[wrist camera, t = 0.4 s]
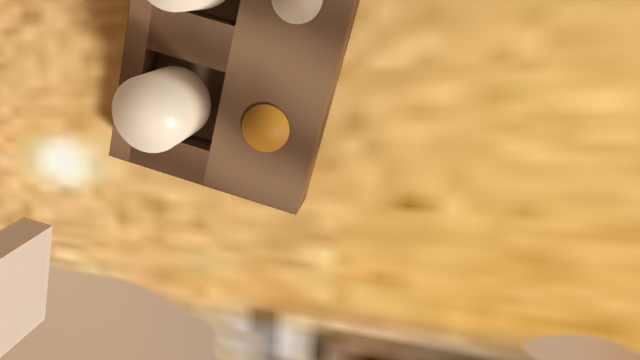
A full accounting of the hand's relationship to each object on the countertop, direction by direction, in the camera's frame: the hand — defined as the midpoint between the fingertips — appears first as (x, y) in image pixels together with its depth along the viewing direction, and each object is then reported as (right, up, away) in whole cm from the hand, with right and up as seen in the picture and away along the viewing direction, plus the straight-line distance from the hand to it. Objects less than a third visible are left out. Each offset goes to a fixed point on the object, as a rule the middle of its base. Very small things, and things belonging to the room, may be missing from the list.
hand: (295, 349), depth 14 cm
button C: (-8, +9, +22) cm, 25 cm away
